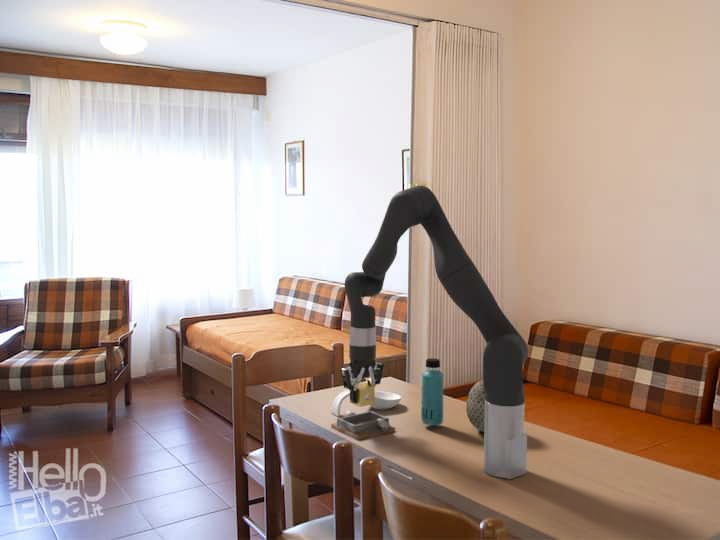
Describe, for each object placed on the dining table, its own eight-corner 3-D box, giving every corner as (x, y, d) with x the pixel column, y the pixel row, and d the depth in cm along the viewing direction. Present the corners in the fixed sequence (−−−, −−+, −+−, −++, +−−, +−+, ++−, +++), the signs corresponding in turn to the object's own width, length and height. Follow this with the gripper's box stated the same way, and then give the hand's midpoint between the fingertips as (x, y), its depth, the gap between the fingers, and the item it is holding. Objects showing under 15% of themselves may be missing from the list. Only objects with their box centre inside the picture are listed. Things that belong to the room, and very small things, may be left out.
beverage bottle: (443, 423, 194) (444, 356, 192) (443, 431, 187) (444, 361, 185) (420, 422, 194) (421, 356, 193) (420, 430, 188) (421, 361, 186)
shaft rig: (397, 432, 186) (397, 419, 186) (360, 441, 179) (360, 428, 178) (365, 418, 199) (365, 406, 198) (329, 426, 191) (329, 414, 191)
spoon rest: (387, 400, 219) (387, 378, 218) (408, 409, 209) (408, 386, 208) (325, 411, 206) (325, 388, 206) (344, 421, 196) (344, 397, 196)
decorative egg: (470, 438, 181) (471, 385, 180) (462, 425, 193) (463, 374, 191) (512, 438, 181) (514, 385, 180) (502, 424, 193) (503, 374, 192)
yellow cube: (374, 404, 187) (374, 386, 187) (360, 407, 184) (360, 389, 184) (363, 399, 191) (363, 382, 191) (349, 402, 188) (349, 385, 188)
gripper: (374, 337, 193) (373, 394, 195) (334, 342, 185) (333, 402, 186) (390, 341, 187) (389, 400, 189) (349, 347, 179) (349, 408, 180)
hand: (362, 400), depth 188 cm, fingers closed on yellow cube, 5 cm apart
